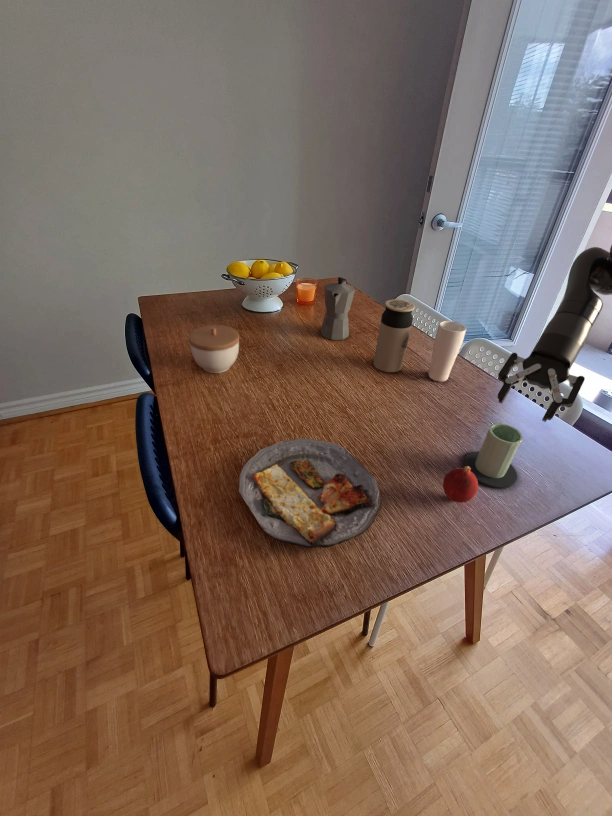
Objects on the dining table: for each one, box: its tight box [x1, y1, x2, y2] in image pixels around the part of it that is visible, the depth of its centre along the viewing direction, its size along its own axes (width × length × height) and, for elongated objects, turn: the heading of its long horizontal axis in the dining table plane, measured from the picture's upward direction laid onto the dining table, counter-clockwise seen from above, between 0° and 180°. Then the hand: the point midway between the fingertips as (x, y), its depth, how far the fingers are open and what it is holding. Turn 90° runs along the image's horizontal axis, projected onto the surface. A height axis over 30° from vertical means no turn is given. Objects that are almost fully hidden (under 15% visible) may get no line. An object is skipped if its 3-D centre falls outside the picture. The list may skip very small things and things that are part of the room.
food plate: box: [238, 438, 382, 549], centre depth 71 cm, size 25×23×4 cm
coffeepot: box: [320, 276, 356, 341], centre depth 122 cm, size 15×9×18 cm, turn 164°
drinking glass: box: [427, 320, 467, 383], centre depth 104 cm, size 7×7×15 cm
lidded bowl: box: [188, 324, 240, 374], centre depth 103 cm, size 13×13×11 cm
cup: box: [475, 422, 524, 478], centre depth 77 cm, size 6×6×9 cm
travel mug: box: [373, 298, 416, 373], centre depth 106 cm, size 8×8×18 cm
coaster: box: [463, 450, 518, 490], centre depth 79 cm, size 10×10×1 cm
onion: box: [442, 466, 479, 503], centre depth 70 cm, size 6×6×8 cm
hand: (521, 410), depth 79 cm, fingers open, 8 cm apart
